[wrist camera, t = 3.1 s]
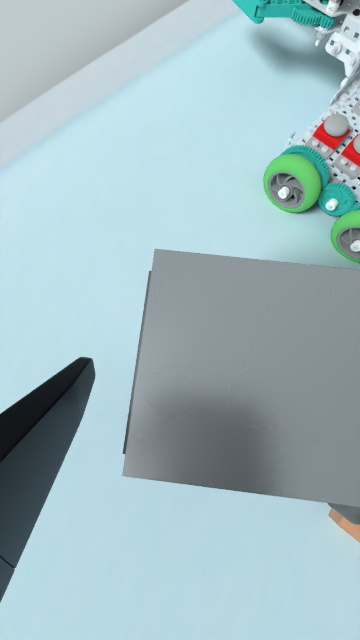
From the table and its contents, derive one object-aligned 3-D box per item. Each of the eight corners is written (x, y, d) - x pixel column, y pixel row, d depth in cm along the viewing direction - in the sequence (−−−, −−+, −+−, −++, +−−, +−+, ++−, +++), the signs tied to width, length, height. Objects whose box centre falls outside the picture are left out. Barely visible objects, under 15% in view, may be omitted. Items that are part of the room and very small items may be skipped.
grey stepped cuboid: (232, 408, 17) (406, 549, 4) (159, 399, 17) (86, 505, 4) (238, 336, 18) (392, 248, 5) (168, 328, 18) (133, 222, 5)
